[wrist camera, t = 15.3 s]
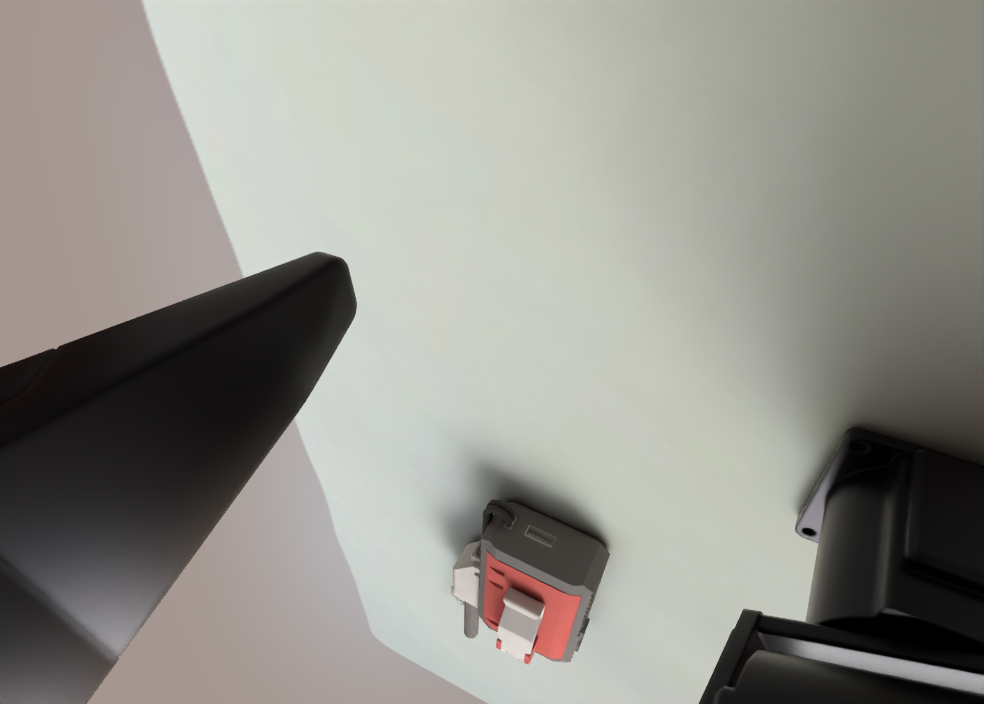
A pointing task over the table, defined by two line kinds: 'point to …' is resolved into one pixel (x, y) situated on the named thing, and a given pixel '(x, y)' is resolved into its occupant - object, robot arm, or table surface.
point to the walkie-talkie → (529, 582)
